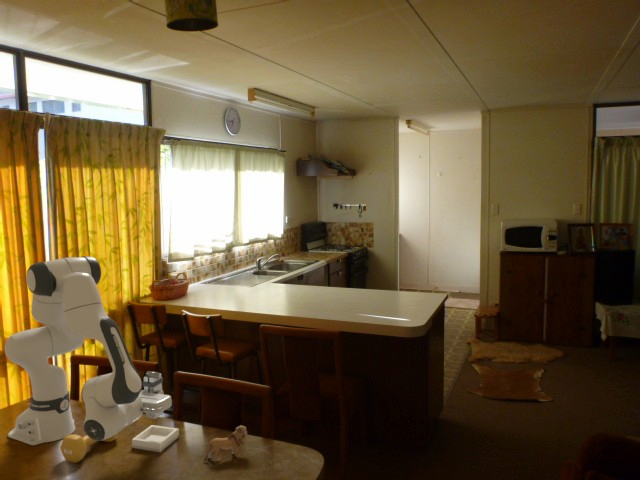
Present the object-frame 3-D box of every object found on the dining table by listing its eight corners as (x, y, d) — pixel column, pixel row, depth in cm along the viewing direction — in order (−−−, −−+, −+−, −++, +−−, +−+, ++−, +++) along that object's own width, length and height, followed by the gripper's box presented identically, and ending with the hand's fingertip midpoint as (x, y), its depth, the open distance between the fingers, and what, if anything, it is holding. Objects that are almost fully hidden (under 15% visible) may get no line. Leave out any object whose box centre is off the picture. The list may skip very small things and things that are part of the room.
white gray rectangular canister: (144, 418, 178) (141, 374, 176) (153, 411, 183) (151, 368, 181) (155, 419, 176) (153, 375, 175) (164, 413, 181) (162, 369, 180)
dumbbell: (78, 466, 166) (77, 441, 165) (58, 461, 170) (56, 436, 169) (123, 439, 183) (121, 417, 183) (103, 435, 187) (102, 412, 186)
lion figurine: (244, 447, 176) (243, 421, 175) (250, 454, 171) (249, 428, 170) (201, 459, 169) (200, 432, 168) (206, 466, 164) (204, 439, 163)
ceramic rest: (132, 447, 177) (131, 439, 177) (152, 433, 188) (151, 424, 187) (160, 452, 174) (160, 443, 173) (179, 436, 184) (178, 428, 184)
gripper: (156, 402, 163) (181, 385, 176) (101, 395, 169) (129, 380, 182) (157, 421, 164) (182, 404, 177) (103, 414, 170) (130, 397, 183)
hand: (155, 391), depth 180 cm, fingers closed on white gray rectangular canister, 4 cm apart
